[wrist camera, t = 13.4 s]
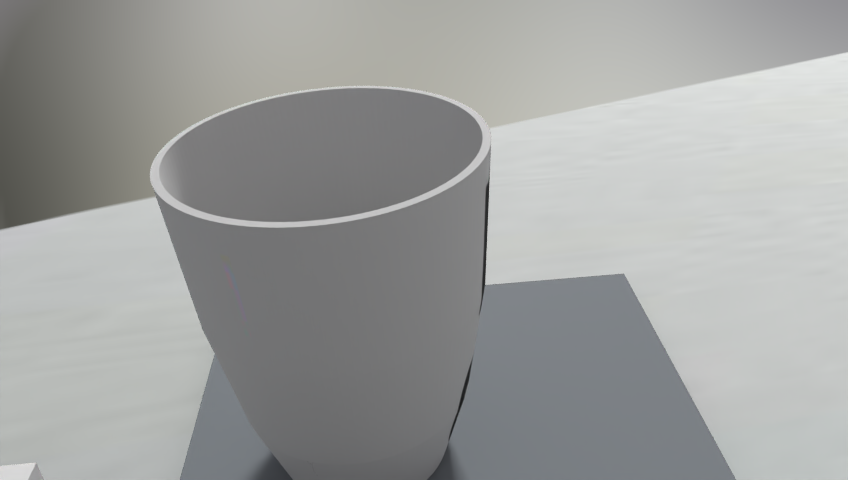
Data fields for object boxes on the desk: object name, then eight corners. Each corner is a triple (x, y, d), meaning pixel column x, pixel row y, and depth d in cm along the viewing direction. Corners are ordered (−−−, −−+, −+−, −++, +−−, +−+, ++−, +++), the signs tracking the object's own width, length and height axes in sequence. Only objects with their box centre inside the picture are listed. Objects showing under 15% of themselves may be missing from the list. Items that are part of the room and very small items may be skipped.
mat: (129, 698, 18) (123, 682, 17) (230, 318, 31) (227, 306, 30) (805, 632, 18) (810, 617, 18) (622, 285, 31) (623, 273, 31)
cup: (546, 488, 21) (557, 168, 16) (265, 602, 19) (173, 266, 14) (431, 331, 28) (413, 67, 23) (210, 401, 25) (134, 121, 20)
